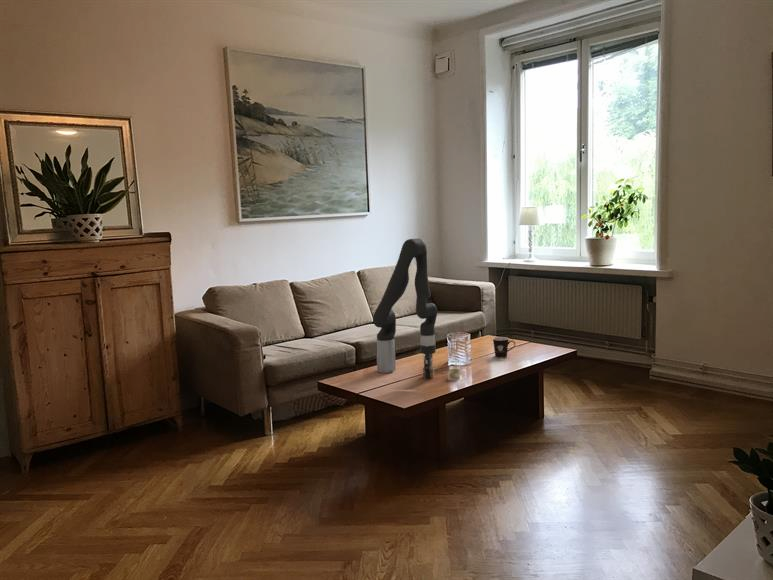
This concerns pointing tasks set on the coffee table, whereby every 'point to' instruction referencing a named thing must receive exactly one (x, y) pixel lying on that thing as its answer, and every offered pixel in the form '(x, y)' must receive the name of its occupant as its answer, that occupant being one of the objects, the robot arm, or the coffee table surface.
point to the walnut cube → (430, 372)
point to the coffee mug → (501, 346)
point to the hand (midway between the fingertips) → (428, 376)
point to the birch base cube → (454, 372)
